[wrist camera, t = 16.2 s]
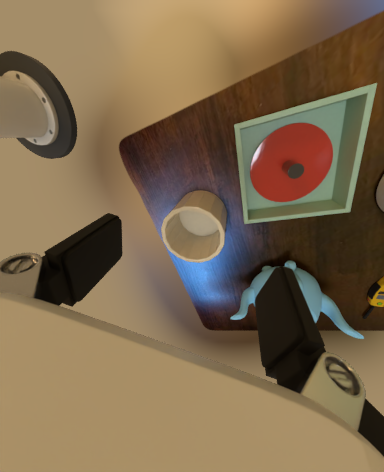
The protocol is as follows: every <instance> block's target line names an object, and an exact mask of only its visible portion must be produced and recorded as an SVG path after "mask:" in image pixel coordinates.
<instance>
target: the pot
mask: <svg viewBox="0 0 384 472" xmlns="http://www.w3.org/2000/svg"><path fill="white" fill-rule="evenodd" d="M226 223H227V211H226V208H225V205H224V203H223V202H222V201H221V199H220V198H218V197H217V196H216V195H215V194H213V193H211V192H208V191H201V190H199V191H193V192H190V193H188V194H186V195H185V196H184V197H183V198H182V199H181V200H180V201H179V202H178V203H177V205H176V206H175V207H174V208H173V209H172V210H171V212H170V213H169V214H168V215H167V216H166V218H165V219H164V221H163V225H162V228H161V231H162V238H163V241H164V243H165V244H166V246H167V248H168V249H169V250H170V251H171V252H172V253H173V254H174V255H176V256H177V257H179V258H181V259H183V260H186V261H188V262H198V263H200V262H204V261H208V260H211V259H212V258H214V257H215V256H217V255H218V254H219V253H220V251H221V249H222V248H223V246H224V242H225V232H226Z"/></svg>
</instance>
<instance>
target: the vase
mask: <svg viewBox="0 0 384 472" xmlns="http://www.w3.org/2000/svg"><path fill="white" fill-rule="evenodd" d="M376 200H377V204H378V206H379V207H380V209H381V210H382V211H383V212H384V175H383V177H382V179H381V180H380V182H379V185H378V187H377V192H376Z"/></svg>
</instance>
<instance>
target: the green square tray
mask: <svg viewBox="0 0 384 472" xmlns="http://www.w3.org/2000/svg"><path fill="white" fill-rule="evenodd" d="M376 86H377V83H375V84H372V85H368V86H365V87H362V88H358V89H355V90H351V91H348V92H344V93H341V94H338V95H334V96H331V97H327V98H324V99H320V100H317V101H314V102H310V103H307V104H303V105H300V106H297V107H293V108H290V109H286V110H283V111H279V112H276V113H273V114H269V115H266V116H262V117H259V118H255V119H252V120H249V121H245V122H242V123H238V124H235V125H234V129H235V139H236V148H237V158H238V167H239V177H240V187H241V196H242V206H243V215H244V224H248V223H258V222H267V221H275V220H284V219H293V218H302V217H311V216H319V215H328V214H337V213H344V212H345V213H346V212H350V210H351V205H352V200H353V196H354V191H355V186H356V181H357V177H358V172H359V167H360V162H361V157H362V153H363V148H364V143H365V138H366V134H367V129H368V124H369V119H370V114H371V110H372V105H373V100H374V95H375V91H376ZM293 123H309V124H313V125H316V126H318V127H319V128H321V129H322V130H323V131H325V133H326V134H327V135H328V137H329V138H330V140H331V143H332V147H333V160H332V164H331V167H330V169H329V172H328V174H327V175H326V177H325V178H324V180H323V181H322V182H321V184H320V185H319V186H318V187H317V188H316V189H314V190H313V191H312V192H311V193H309V194H307V195H306V196H304V197H302V198H300V199H297V200H294V201H289V202H274V201H270V200H268V199H266V198H264V197H262V196H261V195H260V194H259V193H258V192H257V191H256V190H255V188H254V187H253V185H252V182H251V178H250V165H251V160H252V157H253V155H254V153H255V151H256V149H257V147H258V146H259V145H260V143H261V142H262V141H263V140H264V139H265V138H266V137H267V136H268V135H269V134H271V133H272V132H274V131H275V130H277V129H279V128H281V127H283V126H286V125H289V124H293Z"/></svg>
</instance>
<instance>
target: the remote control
mask: <svg viewBox="0 0 384 472" xmlns="http://www.w3.org/2000/svg"><path fill="white" fill-rule="evenodd" d="M367 301H368V302H369V303H370V304H371V305H372V306H371V307H370V309H369V310H368V311H367V313H366V314H365V315H364V316H363V318H364V319H366V318H367V316H368V315H369V314H370V313H371V311H372V310H373V309H374V307H377V306H379V307H383V306H384V277H383V278H381V279H380V280H379V281H378V282H376V283H375V284H374V285H373V286H372V287H371V288H370V290H369V292H368V297H367Z"/></svg>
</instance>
